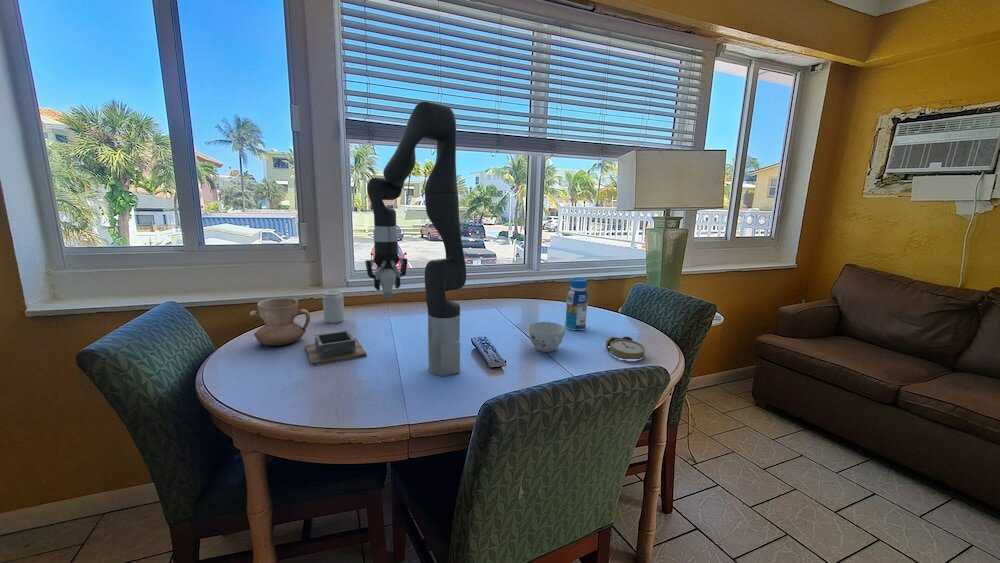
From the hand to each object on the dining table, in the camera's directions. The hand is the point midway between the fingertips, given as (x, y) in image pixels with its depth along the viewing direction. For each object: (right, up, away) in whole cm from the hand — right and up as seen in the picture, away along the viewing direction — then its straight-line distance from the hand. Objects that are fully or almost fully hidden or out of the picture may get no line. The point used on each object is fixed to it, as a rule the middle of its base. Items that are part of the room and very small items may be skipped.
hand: (387, 288), depth 137 cm
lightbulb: (0, -4, +1) cm, 4 cm away
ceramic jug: (-36, -18, +1) cm, 41 cm away
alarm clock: (+81, -22, 0) cm, 84 cm away
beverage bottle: (+69, -16, +25) cm, 75 cm away
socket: (-15, -20, -7) cm, 26 cm away
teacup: (+54, -21, 0) cm, 58 cm away
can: (-28, -14, +24) cm, 40 cm away
